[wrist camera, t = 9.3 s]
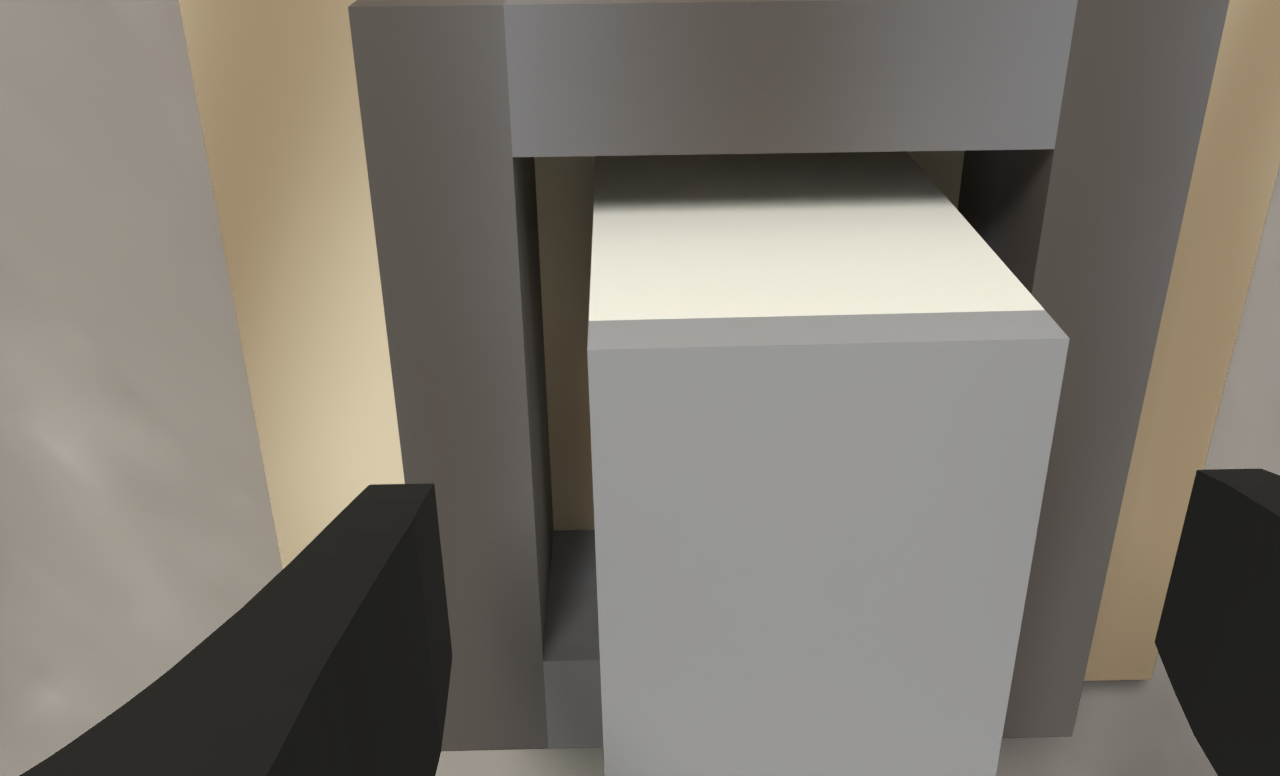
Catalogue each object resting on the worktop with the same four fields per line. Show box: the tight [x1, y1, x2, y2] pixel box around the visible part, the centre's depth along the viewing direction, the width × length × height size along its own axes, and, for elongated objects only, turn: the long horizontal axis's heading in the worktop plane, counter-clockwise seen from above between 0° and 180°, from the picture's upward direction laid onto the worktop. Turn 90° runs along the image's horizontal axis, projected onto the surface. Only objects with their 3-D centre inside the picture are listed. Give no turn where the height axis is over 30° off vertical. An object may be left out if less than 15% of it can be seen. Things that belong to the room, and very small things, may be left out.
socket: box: [178, 0, 1280, 751], centre depth 15 cm, size 14×13×4 cm
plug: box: [587, 151, 1070, 776], centre depth 13 cm, size 4×5×6 cm
